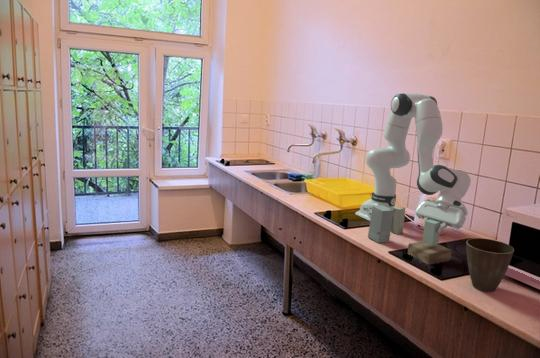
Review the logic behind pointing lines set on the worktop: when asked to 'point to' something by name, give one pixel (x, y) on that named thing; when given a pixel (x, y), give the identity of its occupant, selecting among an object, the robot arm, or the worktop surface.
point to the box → (398, 220)
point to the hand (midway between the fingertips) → (430, 229)
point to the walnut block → (429, 252)
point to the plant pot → (487, 262)
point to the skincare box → (380, 224)
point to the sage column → (431, 231)
